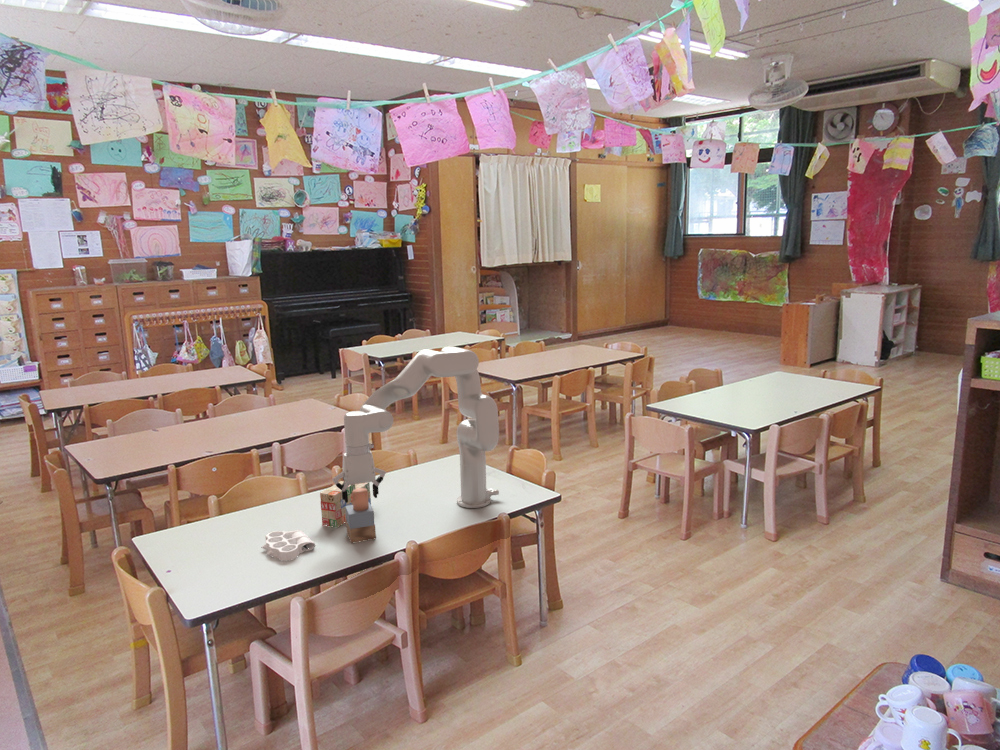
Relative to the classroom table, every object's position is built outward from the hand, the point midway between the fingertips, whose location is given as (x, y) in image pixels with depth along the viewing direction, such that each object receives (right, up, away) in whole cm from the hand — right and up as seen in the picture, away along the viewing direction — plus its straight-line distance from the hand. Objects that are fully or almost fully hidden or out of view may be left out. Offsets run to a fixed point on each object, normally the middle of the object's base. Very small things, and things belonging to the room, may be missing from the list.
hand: (360, 498), depth 230 cm
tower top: (-1, -8, +2) cm, 8 cm away
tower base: (0, -13, +3) cm, 13 cm away
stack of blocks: (-9, -10, +20) cm, 24 cm away
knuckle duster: (-23, -16, -5) cm, 28 cm away
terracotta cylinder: (0, -3, +1) cm, 3 cm away
